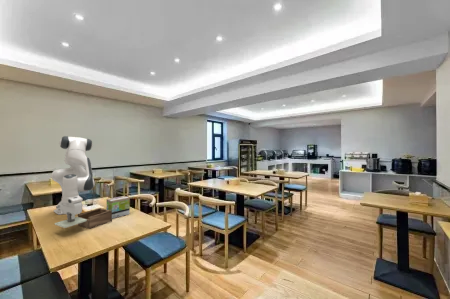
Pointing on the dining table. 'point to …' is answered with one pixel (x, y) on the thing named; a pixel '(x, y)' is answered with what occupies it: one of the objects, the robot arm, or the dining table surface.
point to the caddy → (95, 218)
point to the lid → (70, 221)
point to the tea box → (119, 206)
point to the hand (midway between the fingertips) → (70, 218)
